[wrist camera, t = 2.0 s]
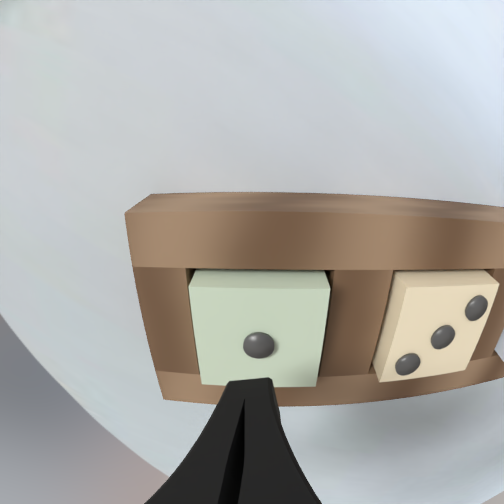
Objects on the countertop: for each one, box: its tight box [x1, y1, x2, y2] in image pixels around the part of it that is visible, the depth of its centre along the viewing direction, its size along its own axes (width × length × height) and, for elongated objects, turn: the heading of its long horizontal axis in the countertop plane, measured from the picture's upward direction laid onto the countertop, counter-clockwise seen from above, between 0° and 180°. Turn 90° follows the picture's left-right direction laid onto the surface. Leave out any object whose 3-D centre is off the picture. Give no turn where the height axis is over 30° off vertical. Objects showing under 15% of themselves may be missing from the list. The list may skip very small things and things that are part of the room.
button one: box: [189, 268, 330, 387], centre depth 13 cm, size 5×5×3 cm
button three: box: [372, 269, 499, 382], centre depth 13 cm, size 5×5×3 cm
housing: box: [125, 192, 504, 406], centre depth 14 cm, size 26×10×3 cm, turn 90°
